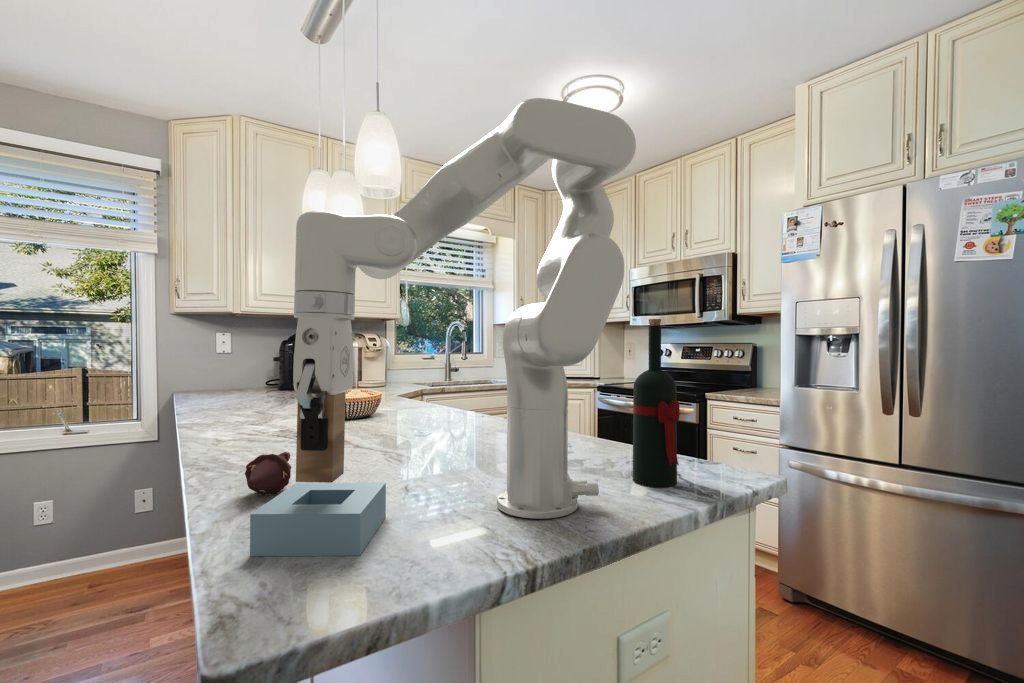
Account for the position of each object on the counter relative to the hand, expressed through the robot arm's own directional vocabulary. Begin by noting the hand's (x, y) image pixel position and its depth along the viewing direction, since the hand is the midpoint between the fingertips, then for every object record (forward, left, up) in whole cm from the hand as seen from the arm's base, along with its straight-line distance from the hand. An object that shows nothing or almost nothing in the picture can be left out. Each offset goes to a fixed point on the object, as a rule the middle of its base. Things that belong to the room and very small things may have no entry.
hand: (321, 444), depth 65 cm
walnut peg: (0, 0, -4) cm, 4 cm away
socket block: (0, 0, -12) cm, 12 cm away
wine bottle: (-52, -23, -12) cm, 59 cm away
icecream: (+15, -18, -12) cm, 27 cm away
